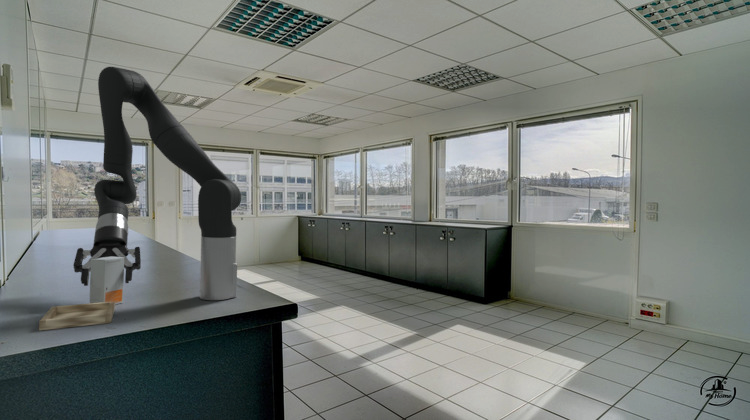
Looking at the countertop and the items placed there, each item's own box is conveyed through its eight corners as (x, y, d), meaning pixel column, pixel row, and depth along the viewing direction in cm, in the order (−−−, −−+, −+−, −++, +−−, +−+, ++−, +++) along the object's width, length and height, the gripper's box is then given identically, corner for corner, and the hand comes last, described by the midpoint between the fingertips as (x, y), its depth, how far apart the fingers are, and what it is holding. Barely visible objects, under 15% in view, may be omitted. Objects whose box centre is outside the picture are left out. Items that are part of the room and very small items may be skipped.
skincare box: (103, 308, 94) (104, 260, 94) (88, 307, 95) (89, 259, 95) (124, 302, 100) (125, 256, 100) (110, 301, 101) (111, 256, 101)
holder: (114, 309, 94) (115, 301, 94) (110, 322, 84) (110, 314, 84) (51, 314, 88) (52, 306, 88) (39, 330, 78) (39, 321, 78)
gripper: (78, 224, 100) (69, 276, 91) (141, 224, 107) (140, 272, 98) (80, 242, 105) (72, 293, 95) (141, 241, 112) (140, 288, 102)
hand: (106, 282), depth 96 cm, fingers open, 8 cm apart
